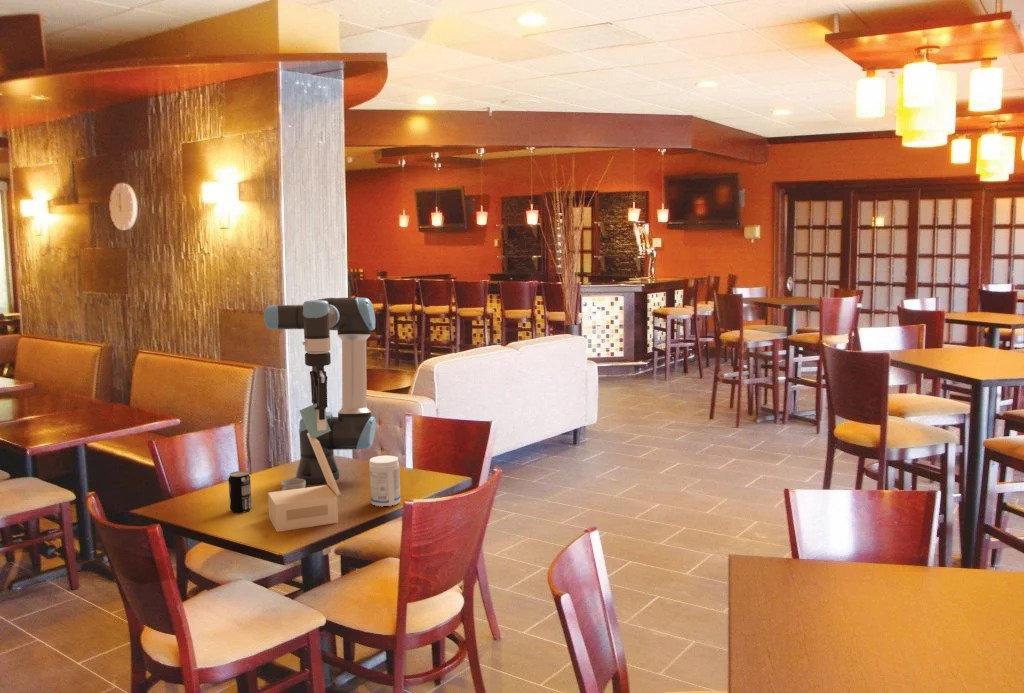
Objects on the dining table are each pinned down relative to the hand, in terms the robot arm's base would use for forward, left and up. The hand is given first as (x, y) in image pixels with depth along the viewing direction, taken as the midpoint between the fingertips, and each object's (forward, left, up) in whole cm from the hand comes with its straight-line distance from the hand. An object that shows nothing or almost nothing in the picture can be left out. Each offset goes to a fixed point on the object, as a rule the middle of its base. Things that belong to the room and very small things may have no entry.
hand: (320, 428), depth 255 cm
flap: (0, -1, -7) cm, 7 cm away
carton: (0, -6, -28) cm, 28 cm away
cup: (-13, -7, -28) cm, 32 cm away
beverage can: (-19, -22, -28) cm, 40 cm away
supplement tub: (-5, +21, -28) cm, 35 cm away
